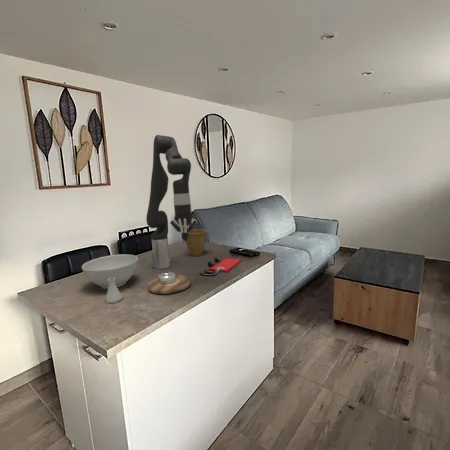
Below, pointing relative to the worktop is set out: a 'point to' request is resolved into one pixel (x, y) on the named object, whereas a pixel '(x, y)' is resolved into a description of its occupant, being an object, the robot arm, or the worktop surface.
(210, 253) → the worktop surface
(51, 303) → the worktop surface
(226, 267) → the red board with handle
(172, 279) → the cover
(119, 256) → the decorative bowl
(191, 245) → the plant pot
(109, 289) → the flask
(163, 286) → the turntable
